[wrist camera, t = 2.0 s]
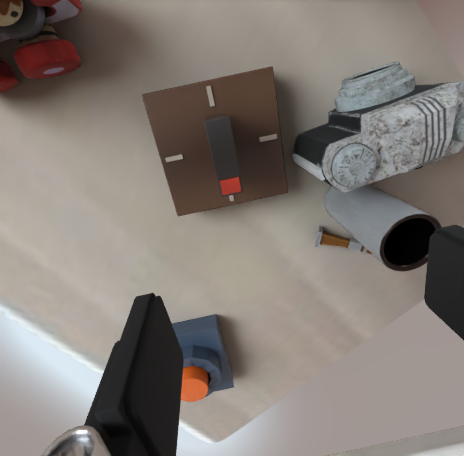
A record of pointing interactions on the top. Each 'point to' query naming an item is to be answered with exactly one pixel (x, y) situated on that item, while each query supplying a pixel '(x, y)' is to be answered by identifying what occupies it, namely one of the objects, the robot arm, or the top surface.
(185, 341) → the button box
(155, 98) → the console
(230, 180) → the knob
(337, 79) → the top surface
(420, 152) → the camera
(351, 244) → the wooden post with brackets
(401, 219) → the grey hollow tube
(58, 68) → the toy fire truck
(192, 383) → the button
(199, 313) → the top surface
